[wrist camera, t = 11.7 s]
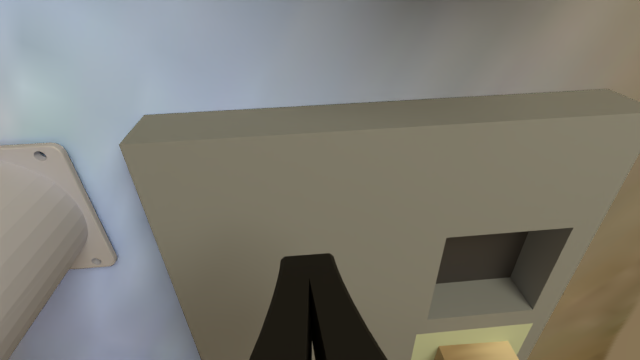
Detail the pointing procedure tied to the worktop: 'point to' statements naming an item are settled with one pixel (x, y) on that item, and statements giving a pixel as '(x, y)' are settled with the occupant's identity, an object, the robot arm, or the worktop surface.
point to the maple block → (477, 351)
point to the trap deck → (385, 210)
